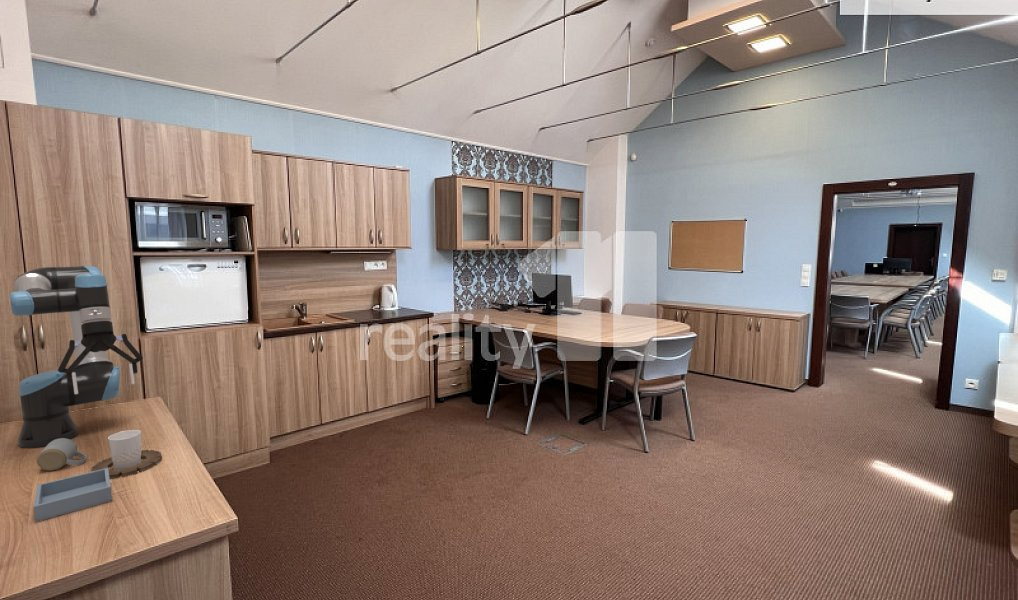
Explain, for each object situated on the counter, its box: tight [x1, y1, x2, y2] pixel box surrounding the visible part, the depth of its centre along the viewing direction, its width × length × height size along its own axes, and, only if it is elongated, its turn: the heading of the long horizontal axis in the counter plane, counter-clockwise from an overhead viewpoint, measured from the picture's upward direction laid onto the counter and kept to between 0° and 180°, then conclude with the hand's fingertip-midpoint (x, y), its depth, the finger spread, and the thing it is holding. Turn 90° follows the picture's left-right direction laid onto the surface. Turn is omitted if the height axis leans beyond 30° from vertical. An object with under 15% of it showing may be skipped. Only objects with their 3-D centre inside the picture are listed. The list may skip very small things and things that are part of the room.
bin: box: [33, 468, 113, 523], centre depth 128 cm, size 15×15×4 cm
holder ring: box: [90, 449, 163, 480], centre depth 148 cm, size 17×17×1 cm
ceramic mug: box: [36, 438, 88, 472], centre depth 148 cm, size 11×8×8 cm
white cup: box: [107, 429, 142, 469], centre depth 148 cm, size 8×8×10 cm
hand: (105, 389), depth 149 cm, fingers open, 13 cm apart
